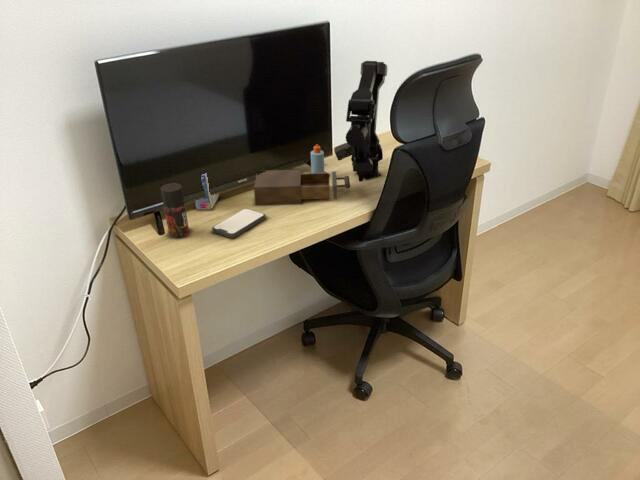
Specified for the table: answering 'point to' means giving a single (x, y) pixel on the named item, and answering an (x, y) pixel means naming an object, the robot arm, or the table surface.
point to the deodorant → (175, 210)
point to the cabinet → (278, 187)
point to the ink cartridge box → (206, 196)
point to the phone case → (238, 223)
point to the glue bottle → (317, 160)
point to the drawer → (320, 185)
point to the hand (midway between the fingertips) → (360, 181)
